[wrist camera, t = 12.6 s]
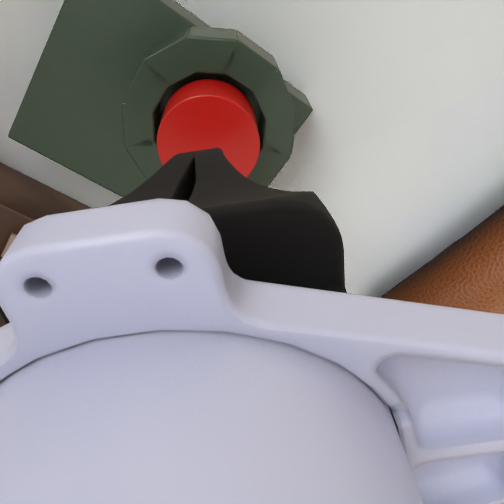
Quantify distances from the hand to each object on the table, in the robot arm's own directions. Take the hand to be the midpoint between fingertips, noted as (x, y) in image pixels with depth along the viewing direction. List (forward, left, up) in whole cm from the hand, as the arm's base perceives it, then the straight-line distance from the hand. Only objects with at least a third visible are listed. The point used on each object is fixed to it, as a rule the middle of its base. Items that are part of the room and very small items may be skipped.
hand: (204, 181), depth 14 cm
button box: (0, -2, -9) cm, 9 cm away
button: (0, 0, -5) cm, 5 cm away
